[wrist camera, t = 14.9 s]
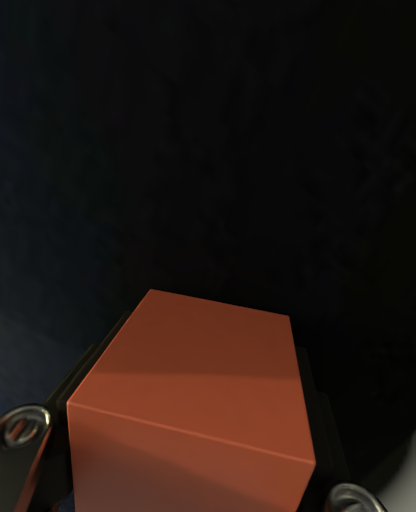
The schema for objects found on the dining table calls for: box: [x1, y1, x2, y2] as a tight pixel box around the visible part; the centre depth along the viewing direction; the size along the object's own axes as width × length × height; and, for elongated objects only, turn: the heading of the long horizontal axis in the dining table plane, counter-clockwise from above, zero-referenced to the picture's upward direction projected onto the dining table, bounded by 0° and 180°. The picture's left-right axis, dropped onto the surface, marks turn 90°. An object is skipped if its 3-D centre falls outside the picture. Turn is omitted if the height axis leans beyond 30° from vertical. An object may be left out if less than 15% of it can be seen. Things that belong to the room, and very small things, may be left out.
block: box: [67, 289, 316, 512], centre depth 8 cm, size 5×5×5 cm
